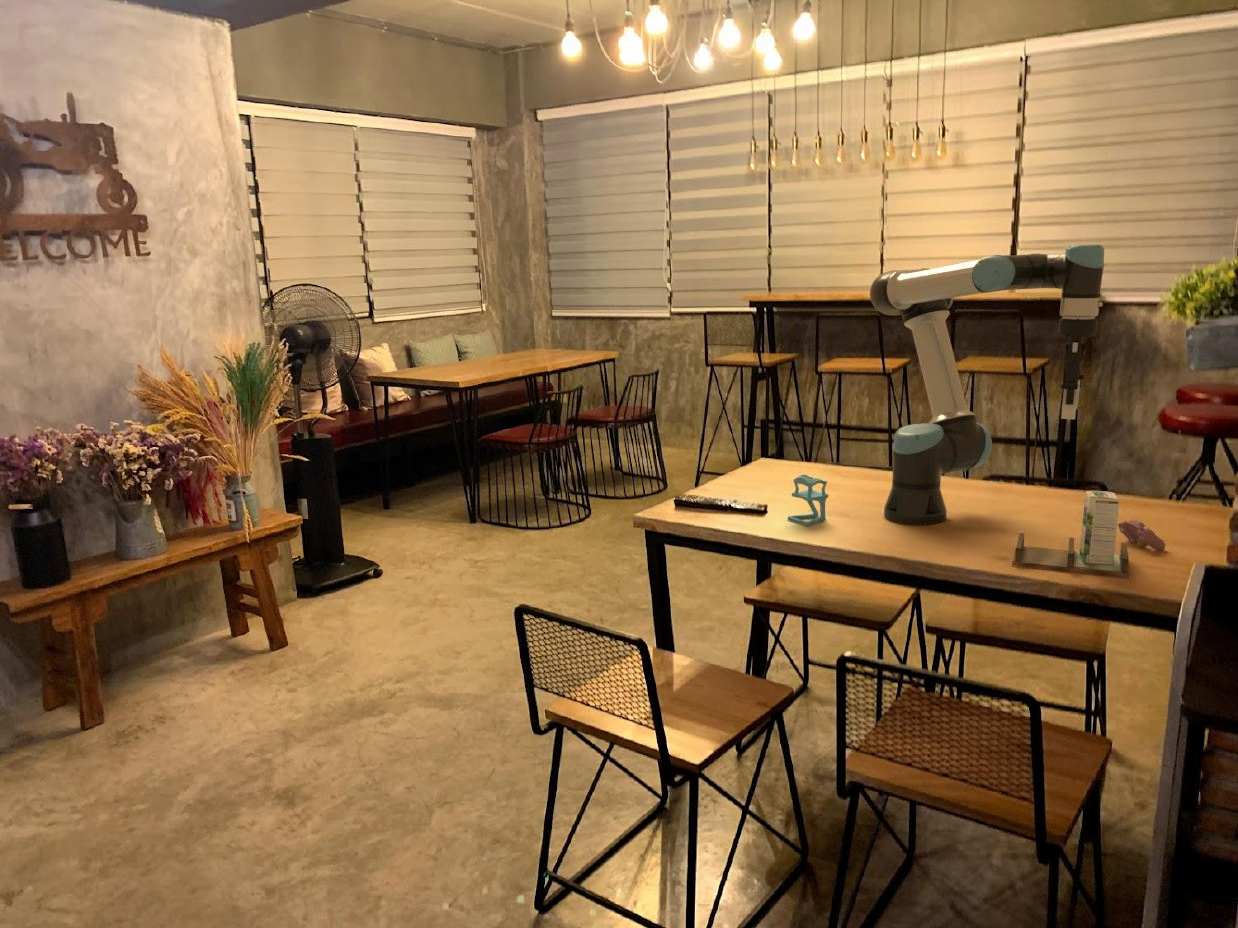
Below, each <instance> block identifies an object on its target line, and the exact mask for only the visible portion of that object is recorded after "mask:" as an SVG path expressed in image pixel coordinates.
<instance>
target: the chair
mask: <svg viewBox="0 0 1238 928" xmlns="http://www.w3.org/2000/svg"><path fill="white" fill-rule="evenodd" d="M793 482H794V483H793V484H794V488H795V490H794V492H792V493H791V497H793V498H799V499H802V500H804V501H806V502H807V504H808V506H809V508H810V509H811V511H812V513H809V514H807V513H806V514H796V515H794V514H793V515H788V516H787V520H788V521H789V520H790V522H793V523H796V524H798V525H799V524H800V525H803V526H805V527H811V526H813V525H816V524H817V523H820V522H822V521H825V520H826V501H827V499H828V498H829V494H828V493H826V487H827V483H828V480H823V479H821V478H819V477H811V476H808V475H807V474H800V475H799V476H797V477H795V478H793ZM817 484H821V485H822V487H821V489H820V490H821V492H820V491H818V490H817V491H816V490H814V489H813V487H814V486H816V485H817ZM799 485H803V486H805V487H807V490H802V491H800V490H799V489H800V488H799ZM813 501H816V502H818V503H819V507H820V508H819V509H820V510H819V511H820V514H819V512H818V509H817V507H816V506H815V504H814V502H813ZM803 519H811V520H809V521H805V520H803Z"/></svg>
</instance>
